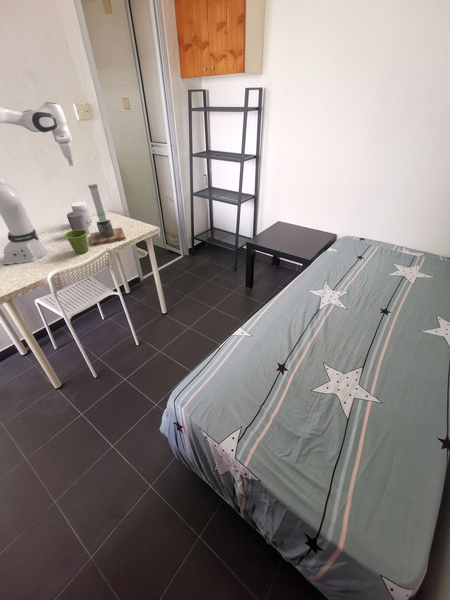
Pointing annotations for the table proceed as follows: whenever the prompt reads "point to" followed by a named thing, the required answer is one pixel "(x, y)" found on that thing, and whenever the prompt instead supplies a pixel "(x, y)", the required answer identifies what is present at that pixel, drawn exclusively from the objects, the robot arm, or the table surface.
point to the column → (97, 202)
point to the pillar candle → (77, 221)
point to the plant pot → (78, 240)
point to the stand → (106, 234)
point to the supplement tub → (83, 208)
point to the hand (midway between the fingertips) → (71, 164)
